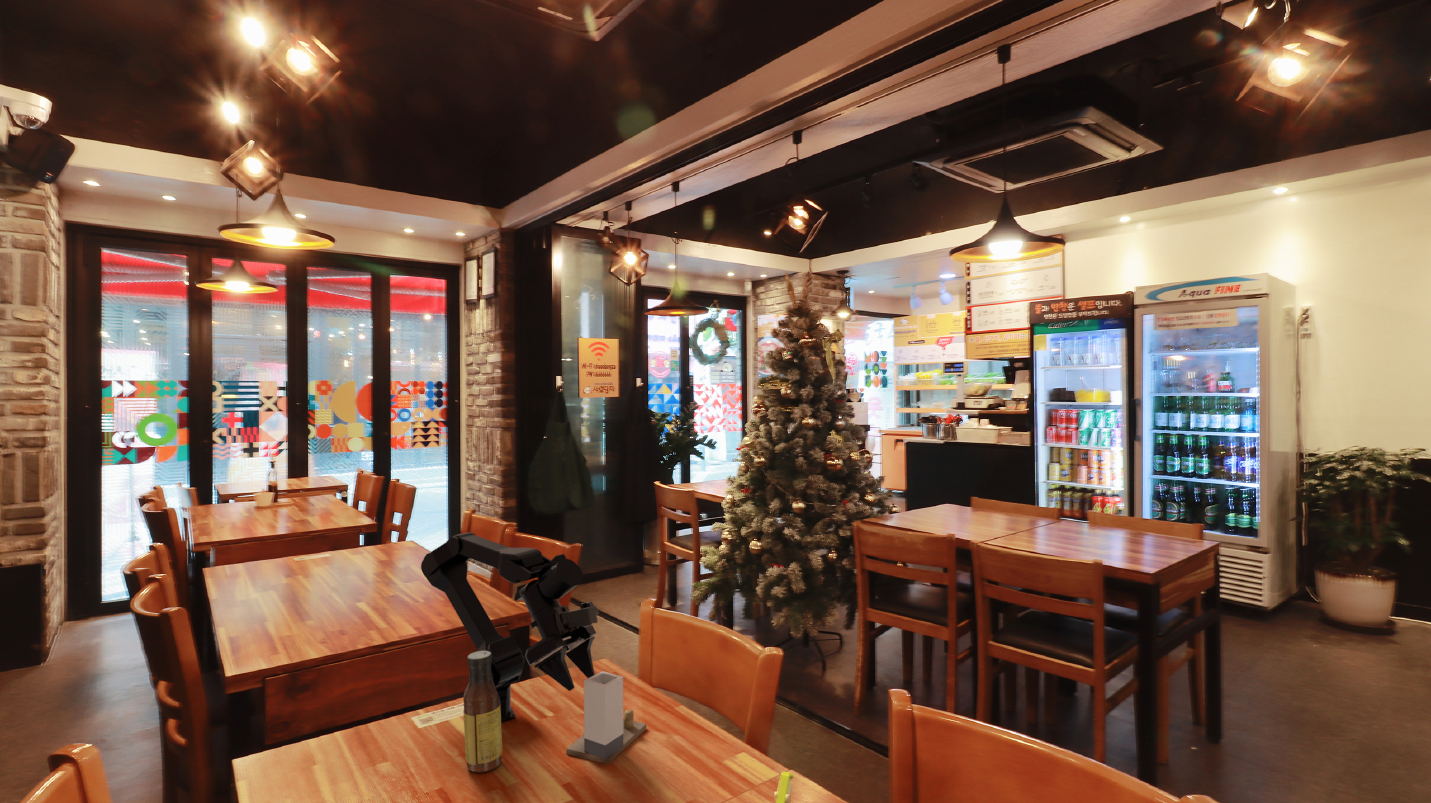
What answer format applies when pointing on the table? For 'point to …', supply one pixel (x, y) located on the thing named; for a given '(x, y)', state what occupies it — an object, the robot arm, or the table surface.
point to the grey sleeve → (603, 714)
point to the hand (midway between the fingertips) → (582, 684)
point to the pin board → (629, 735)
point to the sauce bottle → (482, 716)
